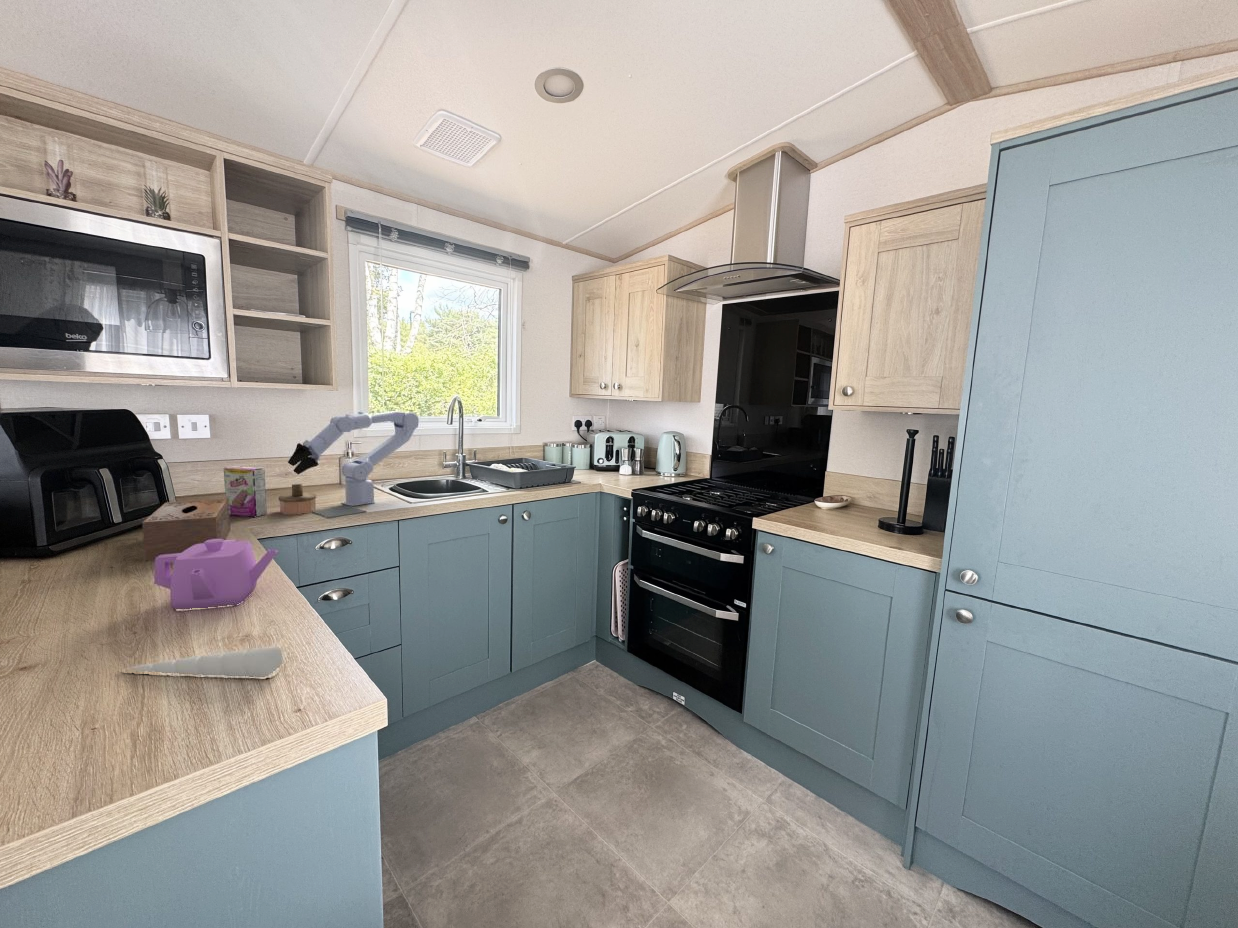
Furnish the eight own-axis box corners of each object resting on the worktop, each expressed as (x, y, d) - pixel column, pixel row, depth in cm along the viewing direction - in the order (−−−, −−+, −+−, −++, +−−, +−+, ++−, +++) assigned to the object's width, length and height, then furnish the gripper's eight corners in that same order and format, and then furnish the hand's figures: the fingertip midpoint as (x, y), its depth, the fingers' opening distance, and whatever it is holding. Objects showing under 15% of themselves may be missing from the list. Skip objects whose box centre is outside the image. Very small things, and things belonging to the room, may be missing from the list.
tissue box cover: (168, 536, 151) (165, 502, 149) (230, 530, 158) (228, 498, 157) (145, 561, 129) (142, 522, 127) (218, 554, 136) (215, 517, 135)
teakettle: (234, 578, 120) (230, 526, 118) (284, 590, 113) (282, 535, 112) (144, 604, 104) (138, 544, 102) (197, 621, 98) (192, 557, 96)
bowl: (307, 506, 191) (306, 494, 191) (319, 511, 185) (319, 498, 185) (276, 511, 183) (276, 498, 183) (288, 515, 177) (287, 502, 177)
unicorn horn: (141, 661, 83) (138, 633, 83) (286, 669, 83) (285, 640, 82) (111, 677, 78) (108, 647, 78) (265, 685, 78) (264, 655, 77)
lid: (307, 494, 192) (307, 481, 191) (321, 498, 185) (321, 484, 184) (273, 498, 183) (272, 484, 182) (286, 503, 176) (285, 488, 175)
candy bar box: (225, 515, 174) (222, 467, 172) (237, 512, 179) (234, 465, 177) (256, 517, 173) (253, 469, 171) (267, 514, 178) (265, 467, 176)
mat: (348, 506, 194) (348, 505, 194) (366, 512, 186) (366, 511, 186) (311, 512, 184) (311, 510, 184) (328, 518, 176) (328, 517, 176)
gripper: (318, 443, 194) (288, 469, 187) (309, 425, 181) (277, 453, 175) (333, 454, 194) (305, 481, 188) (326, 437, 182) (295, 465, 175)
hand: (293, 468), depth 181 cm, fingers open, 7 cm apart
